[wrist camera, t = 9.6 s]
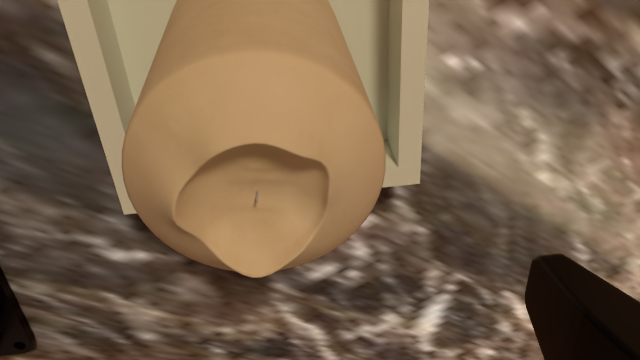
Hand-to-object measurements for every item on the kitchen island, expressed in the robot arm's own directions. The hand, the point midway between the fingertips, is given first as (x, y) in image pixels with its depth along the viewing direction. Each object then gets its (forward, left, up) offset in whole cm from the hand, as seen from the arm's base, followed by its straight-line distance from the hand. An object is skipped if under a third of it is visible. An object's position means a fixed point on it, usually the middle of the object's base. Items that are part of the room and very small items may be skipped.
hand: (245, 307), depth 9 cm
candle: (0, 0, -13) cm, 13 cm away
